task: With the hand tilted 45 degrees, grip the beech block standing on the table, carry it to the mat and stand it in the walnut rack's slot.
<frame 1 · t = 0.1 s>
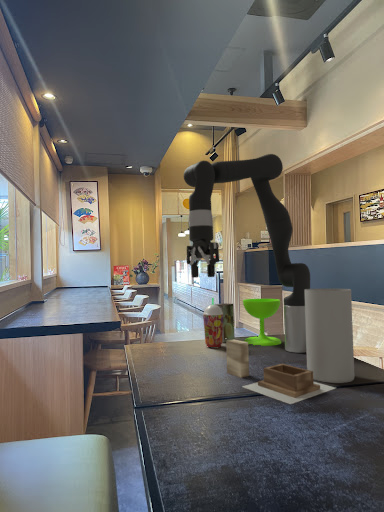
hand: (202, 277, 113), 29 cm above the table, tool pointing down, fingers open, 8 cm apart
mat: (288, 388, 94), on the table
beech block: (237, 375, 106), on the table
rack: (288, 387, 94), resting on mat
wineglass: (262, 342, 155), on the table
cylinder vase: (330, 378, 102), on the table
smoothie: (213, 347, 147), on the table
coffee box: (223, 340, 161), on the table
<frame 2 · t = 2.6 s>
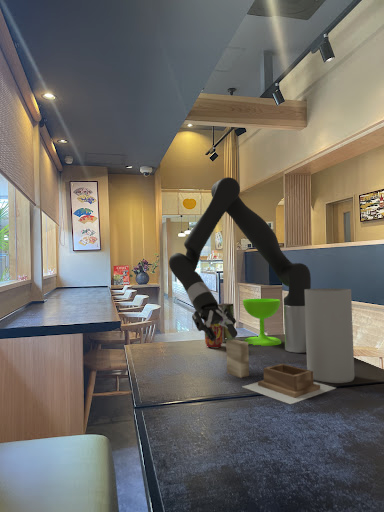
hand: (225, 337, 111), 10 cm above the table, tool tilted 45°, fingers open, 8 cm apart
nothing on the table moved.
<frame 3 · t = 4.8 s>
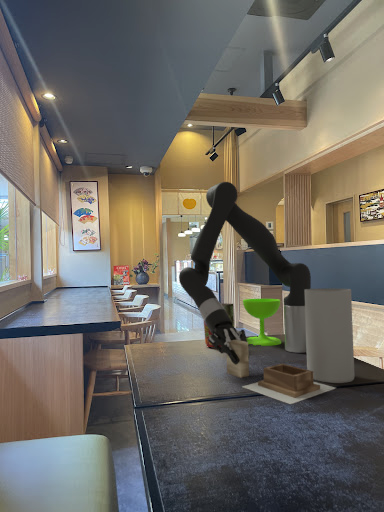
hand: (242, 361, 105), 4 cm above the table, tool tilted 45°, fingers closed on beech block, 3 cm apart
beech block: (237, 375, 106), on the table, touching gripper
everything else where it was.
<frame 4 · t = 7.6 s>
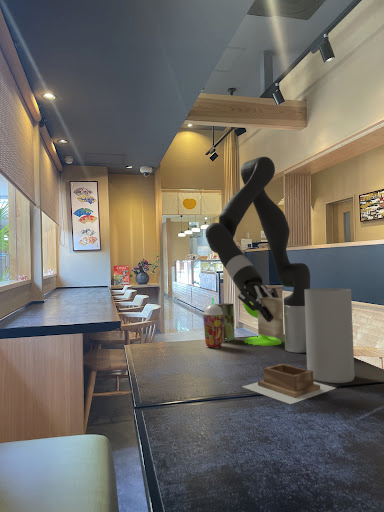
hand: (275, 319, 96), 18 cm above the table, tool tilted 45°, fingers closed on beech block, 3 cm apart
beech block: (270, 335, 98), point 13 cm above the table, touching gripper
everything else where it was.
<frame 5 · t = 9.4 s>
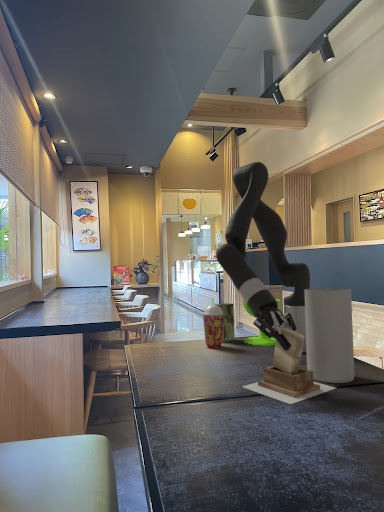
hand: (293, 347, 92), 11 cm above the table, tool tilted 45°, fingers closed on beech block, 3 cm apart
beech block: (284, 368, 94), point 5 cm above the table, tilted 14°, touching gripper
everything else where it was.
when the fingers open (8 cm above the table, at t = 10.4 s): beech block stays where it is, resting on rack.
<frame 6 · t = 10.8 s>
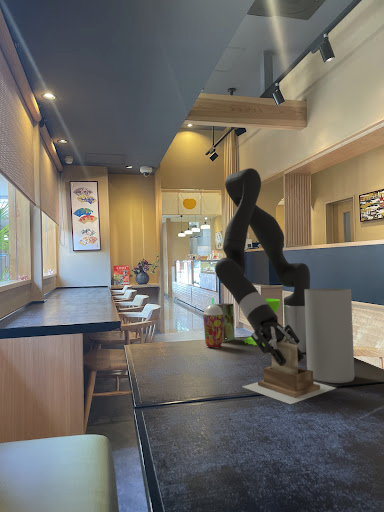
hand: (292, 361, 92), 7 cm above the table, tool tilted 45°, fingers open, 6 cm apart
beech block: (285, 382, 94), point 1 cm above the table, touching rack
everything else where it was.
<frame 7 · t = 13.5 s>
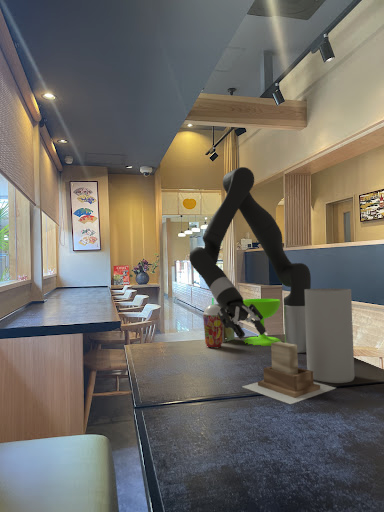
hand: (253, 334, 106), 12 cm above the table, tool tilted 45°, fingers open, 8 cm apart
nothing on the table moved.
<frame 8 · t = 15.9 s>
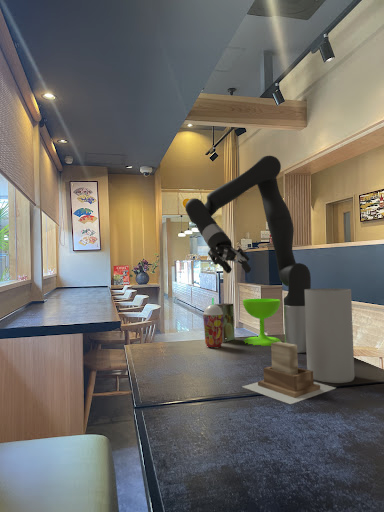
hand: (239, 271, 118), 31 cm above the table, tool tilted 45°, fingers open, 8 cm apart
nothing on the table moved.
at the end: beech block 0.9 cm off-centre on the rack, point 1.0 cm above the rack's base; beech block tilted 0°; the gripper is holding nothing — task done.
